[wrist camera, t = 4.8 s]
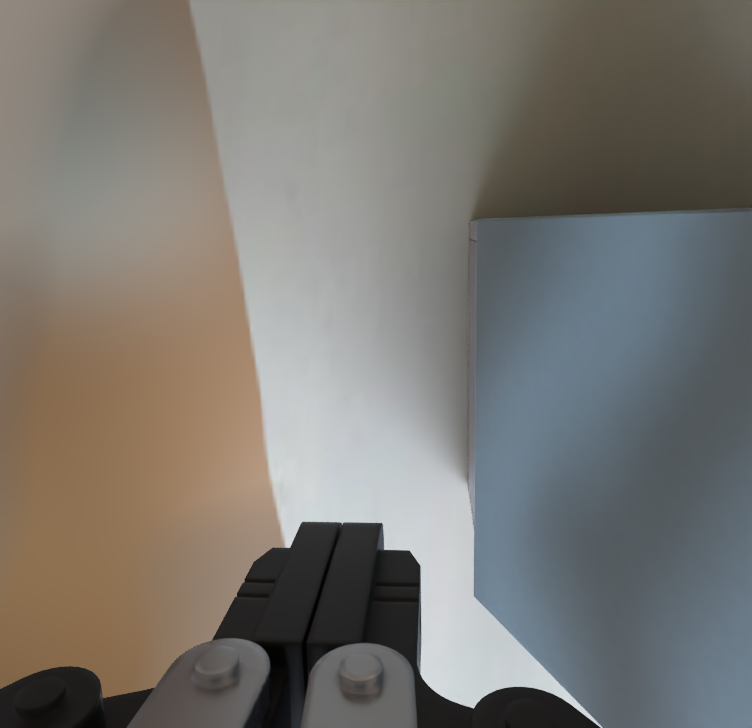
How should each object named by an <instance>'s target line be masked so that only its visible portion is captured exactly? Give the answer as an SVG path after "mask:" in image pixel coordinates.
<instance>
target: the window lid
mask: <svg viewBox="0 0 752 728" xmlns="http://www.w3.org/2000/svg"><path fill="white" fill-rule="evenodd" d="M474 597H475V598H476V599H477V600H478V601H479V602H480V603H481V604H482V605H483V606H484V607H485V608H486V609H487V610H488V611H489V612H490V613H491V614H492V615H493V616H494V617H495V618H496V619H497V620H498V621H499V622H500V623H501V624H502V625H503V626H504V627H505V629H506V630H507V631H508V632H509V633H510V634H511V635H512V636H513V637H514V638H515V639H516V640H517V641H518V642H519V643H520V644H521V645H522V646H523V647H524V648H525V649H526V650H527V651H528V652H529V653H530V654H531V655H532V656H533V657H534V658H535V659H536V660H537V661H538V662H539V663H540V664H541V665H542V666H543V667H544V668H545V669H546V670H547V671H548V672H549V673H550V674H551V675H552V676H553V677H554V678H555V679H556V680H557V682H558V683H559V684H560V685H561V686H562V687H563V688H564V689H565V690H566V691H567V692H568V693H569V694H570V695H571V696H572V697H573V698H574V699H575V700H576V701H577V702H578V703H579V704H580V705H581V706H582V707H583V708H584V709H585V710H586V711H587V712H588V713H589V714H590V715H591V716H592V717H593V718H594V719H595V720H596V721H597V722H598V723H599V724H600V725H601V726H602V727H603V728H752V208H728V209H704V210H680V211H655V212H631V213H607V214H583V215H559V216H534V217H510V218H486V219H478V220H477V266H476V388H475V510H474Z"/></svg>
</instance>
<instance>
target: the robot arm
mask: <svg viewBox="0 0 752 728" xmlns="http://www.w3.org/2000/svg"><path fill="white" fill-rule="evenodd" d="M420 662H421V576H420V565H419V563H418V562H417V561H416V559H415V558H414V556H413V555H412V554H411V552H410V551H401V550H384V536H383V525H382V523H343V525H342V523H337V522H302V523H301V525H300V527H299V530H298V532H297V534H296V536H295V538H294V541H293V543H292V545H291V547H290V548H272V549H270V550H269V551H268V552H266V553H265V554H264V555H263V556H261V557H260V558H259V559H257V560H256V561H255V562H254V563H253V565H252V567H251V568H250V570H249V572H248V574H247V576H246V578H245V583H243V584H242V585H241V587H240V589H239V591H238V593H237V597H235V598H234V600H233V602H232V604H231V606H230V608H229V610H228V612H227V614H226V615H225V617H224V619H223V621H222V623H221V625H220V626H219V629H218V630H217V632H216V634H215V636H214V638H213V640H212V641H209V642H205V643H202V644H200V645H197V646H195V647H193V648H191V649H190V650H188V651H186V652H185V653H183V654H182V655H181V656H179V657H178V658H177V659H176V660H175V661H174V662H173V663H172V665H171V666H170V667H169V669H168V670H167V671H166V673H165V674H164V675H163V677H162V678H161V680H160V681H159V683H158V684H157V685H156V687H155V688H151V689H147V690H143V691H138V692H133V693H128V694H122V695H117V696H113V697H107V698H103V697H102V690H101V684H100V680H99V678H98V677H97V676H96V675H95V674H94V673H93V672H92V671H89V670H87V669H84V668H80V667H71V666H70V667H58V668H51V669H48V670H43V671H40V672H37V673H34V674H32V675H29V676H27V677H24V678H22V679H20V680H18V681H16V682H14V683H12V684H10V685H8V686H6V687H4V688H2V689H0V728H600V727H599V726H598V725H596V724H595V723H594V722H592V721H591V720H590V719H589V718H587V717H586V716H585V715H583V714H582V713H581V712H579V711H578V710H577V709H575V708H574V707H573V706H572V705H570V704H569V703H567V702H566V701H564V700H563V699H561V698H559V697H557V696H555V695H553V694H551V693H548V692H545V691H543V690H538V689H534V688H527V687H510V688H504V689H500V690H496V691H494V692H492V693H490V694H488V695H486V696H485V697H484V698H482V699H481V700H480V701H479V702H478V703H477V705H476V706H475V708H474V709H473V708H470V707H467V706H463V705H460V704H457V703H455V702H452V701H450V700H448V699H446V698H444V697H442V696H440V695H439V694H437V693H436V692H434V691H433V690H432V689H431V688H430V687H429V686H428V685H427V684H426V683H425V681H424V680H423V679H422V677H421V675H420Z"/></svg>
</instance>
